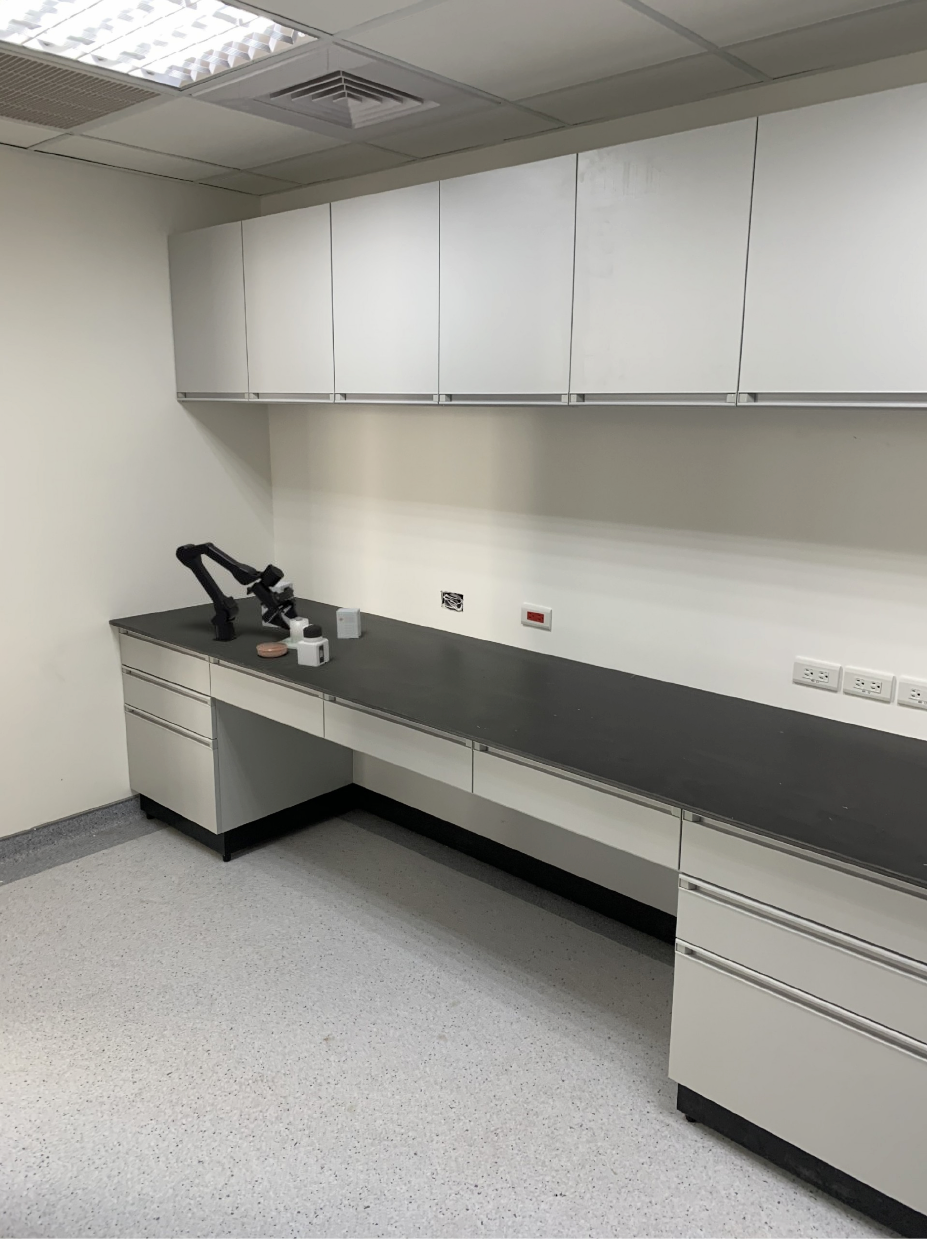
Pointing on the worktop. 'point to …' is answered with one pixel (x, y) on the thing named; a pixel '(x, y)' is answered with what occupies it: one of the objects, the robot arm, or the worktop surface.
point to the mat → (289, 644)
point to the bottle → (297, 629)
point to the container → (312, 647)
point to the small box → (348, 623)
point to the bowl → (272, 649)
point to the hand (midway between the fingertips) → (295, 626)
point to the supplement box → (280, 588)
